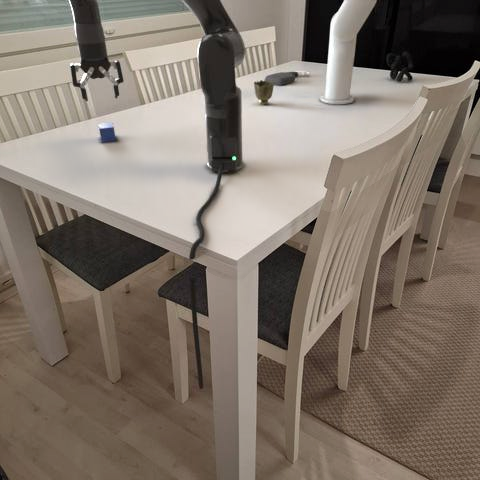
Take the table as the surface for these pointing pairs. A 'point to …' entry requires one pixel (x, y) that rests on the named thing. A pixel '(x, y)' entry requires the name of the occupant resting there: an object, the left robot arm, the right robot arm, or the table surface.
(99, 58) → the left robot arm
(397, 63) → the squiggle
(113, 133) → the brick
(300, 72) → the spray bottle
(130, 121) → the table surface
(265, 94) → the cup
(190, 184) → the table surface
